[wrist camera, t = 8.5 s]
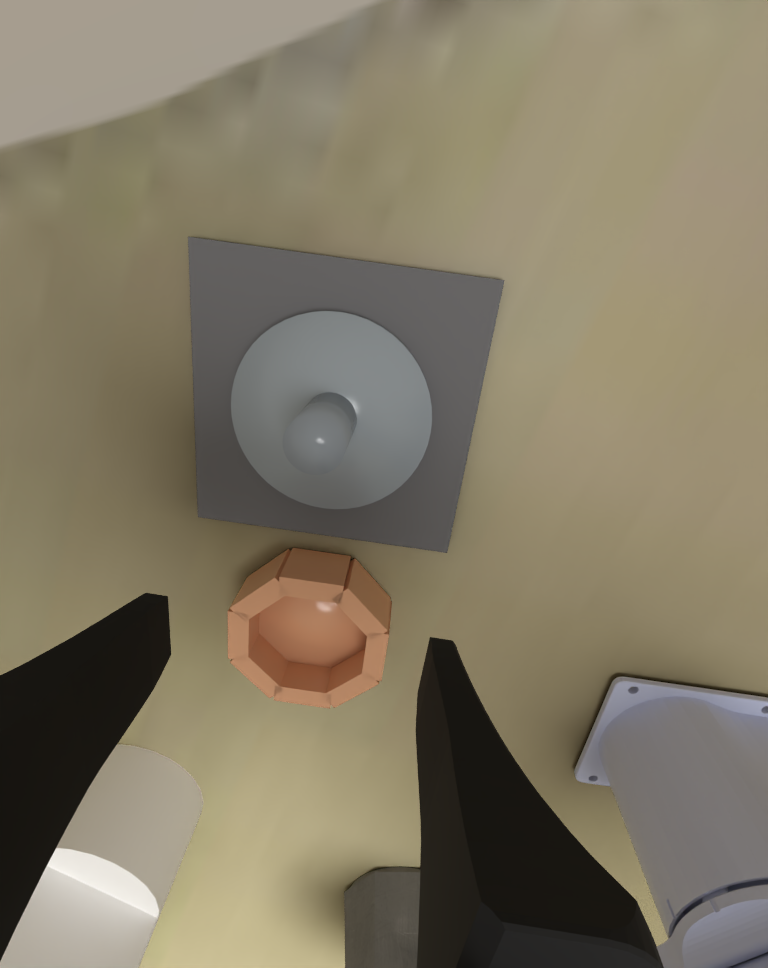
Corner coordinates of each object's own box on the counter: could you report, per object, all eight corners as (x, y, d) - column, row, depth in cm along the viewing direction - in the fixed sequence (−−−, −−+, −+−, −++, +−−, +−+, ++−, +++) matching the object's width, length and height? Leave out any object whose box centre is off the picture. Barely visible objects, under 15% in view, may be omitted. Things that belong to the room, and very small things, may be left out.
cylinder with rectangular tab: (228, 790, 31) (126, 1065, 20) (164, 849, 35) (47, 1116, 24) (105, 722, 30) (-79, 985, 19) (50, 792, 33) (-135, 1052, 22)
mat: (502, 280, 18) (504, 280, 18) (446, 548, 23) (447, 552, 23) (192, 237, 18) (188, 236, 18) (201, 513, 23) (197, 516, 23)
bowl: (397, 562, 24) (395, 593, 21) (379, 677, 27) (375, 715, 24) (245, 540, 24) (227, 569, 21) (244, 658, 27) (228, 693, 24)
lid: (448, 326, 19) (456, 338, 15) (415, 515, 22) (414, 564, 18) (236, 296, 19) (191, 300, 15) (235, 489, 22) (197, 532, 18)
